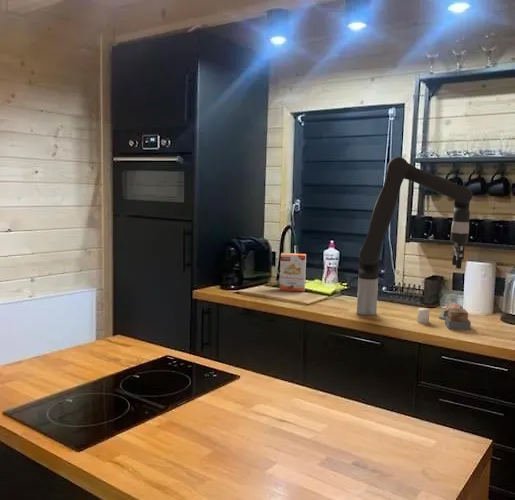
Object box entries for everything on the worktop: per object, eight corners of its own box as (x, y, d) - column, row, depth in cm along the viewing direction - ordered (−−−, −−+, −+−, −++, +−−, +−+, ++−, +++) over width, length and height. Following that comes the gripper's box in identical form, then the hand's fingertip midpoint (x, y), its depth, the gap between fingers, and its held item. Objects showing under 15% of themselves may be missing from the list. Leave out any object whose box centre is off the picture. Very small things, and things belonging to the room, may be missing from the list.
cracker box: (279, 290, 311) (280, 254, 308) (280, 288, 317) (281, 252, 314) (304, 292, 309) (305, 255, 306) (305, 289, 315) (306, 253, 312)
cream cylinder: (418, 323, 250) (418, 310, 249) (416, 320, 255) (417, 307, 254) (429, 324, 249) (430, 311, 248) (428, 321, 254) (428, 308, 253)
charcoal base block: (448, 330, 241) (449, 321, 241) (444, 324, 250) (445, 316, 249) (470, 331, 240) (470, 322, 239) (465, 325, 249) (466, 317, 248)
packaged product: (443, 301, 274) (465, 304, 269) (443, 311, 274) (464, 313, 270) (439, 309, 257) (461, 312, 253) (438, 319, 258) (461, 322, 254)
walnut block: (450, 321, 241) (451, 312, 241) (447, 316, 248) (448, 308, 247) (467, 321, 240) (468, 312, 240) (463, 317, 247) (464, 309, 246)
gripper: (448, 229, 259) (445, 263, 261) (454, 232, 245) (450, 268, 247) (465, 230, 258) (461, 264, 260) (472, 233, 244) (468, 270, 246)
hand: (456, 266), depth 254 cm, fingers open, 8 cm apart
